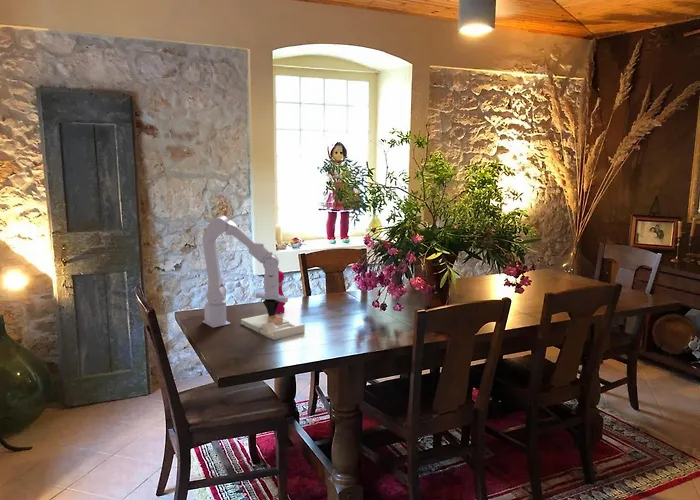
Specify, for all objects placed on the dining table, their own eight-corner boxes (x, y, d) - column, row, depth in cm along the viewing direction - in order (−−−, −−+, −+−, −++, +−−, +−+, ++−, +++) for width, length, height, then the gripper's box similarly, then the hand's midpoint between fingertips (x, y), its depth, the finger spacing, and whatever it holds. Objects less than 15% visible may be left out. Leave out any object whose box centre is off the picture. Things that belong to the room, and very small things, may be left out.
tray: (259, 333, 219) (259, 324, 218) (289, 326, 228) (289, 318, 227) (274, 340, 211) (274, 331, 210) (304, 333, 220) (304, 324, 219)
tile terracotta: (267, 321, 228) (267, 316, 227) (277, 319, 230) (277, 314, 230) (272, 324, 224) (272, 319, 224) (282, 322, 227) (282, 317, 226)
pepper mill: (265, 312, 246) (265, 267, 243) (275, 308, 253) (275, 264, 249) (279, 314, 243) (279, 269, 240) (288, 310, 249) (288, 266, 246)
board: (241, 323, 230) (241, 319, 229) (270, 317, 239) (270, 313, 238) (258, 332, 219) (258, 327, 219) (288, 326, 228) (288, 321, 228)
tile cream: (261, 328, 219) (262, 323, 219) (271, 326, 222) (272, 321, 222) (267, 334, 216) (268, 329, 216) (277, 331, 219) (278, 327, 218)
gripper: (250, 284, 227) (251, 316, 230) (280, 289, 221) (280, 322, 223) (261, 281, 234) (261, 312, 236) (290, 285, 227) (290, 317, 229)
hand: (271, 317), depth 230 cm, fingers closed
